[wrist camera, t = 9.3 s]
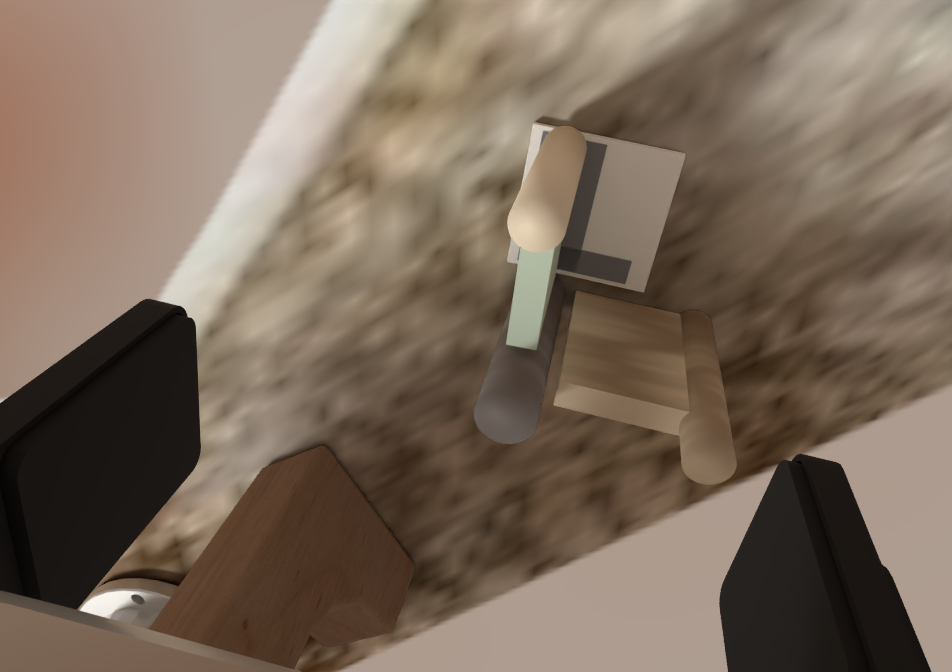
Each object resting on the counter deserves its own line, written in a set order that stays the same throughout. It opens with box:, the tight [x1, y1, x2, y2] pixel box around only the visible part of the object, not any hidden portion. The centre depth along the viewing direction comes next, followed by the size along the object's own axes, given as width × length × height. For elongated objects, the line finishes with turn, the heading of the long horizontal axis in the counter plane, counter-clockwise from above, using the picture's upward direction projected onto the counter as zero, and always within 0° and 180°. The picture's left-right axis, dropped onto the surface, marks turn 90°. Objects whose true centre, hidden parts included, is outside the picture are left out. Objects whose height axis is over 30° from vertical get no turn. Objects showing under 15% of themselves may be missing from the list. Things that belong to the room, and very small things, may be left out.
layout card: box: [507, 122, 686, 293], centre depth 28 cm, size 6×6×1 cm
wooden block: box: [149, 446, 415, 669], centre depth 31 cm, size 9×4×18 cm, turn 30°
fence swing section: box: [506, 126, 587, 350], centre depth 24 cm, size 6×2×8 cm, turn 174°
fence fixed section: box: [474, 277, 737, 485], centre depth 26 cm, size 8×2×9 cm, turn 81°
